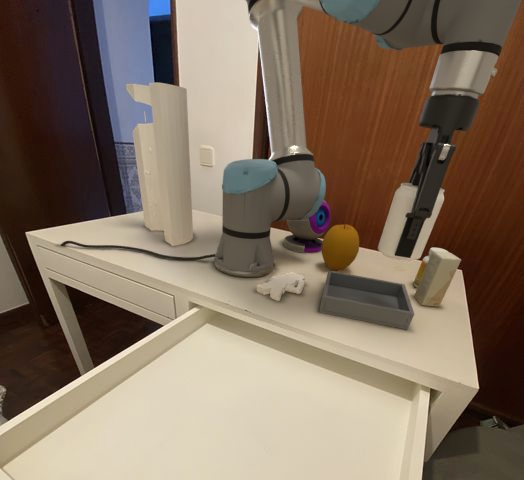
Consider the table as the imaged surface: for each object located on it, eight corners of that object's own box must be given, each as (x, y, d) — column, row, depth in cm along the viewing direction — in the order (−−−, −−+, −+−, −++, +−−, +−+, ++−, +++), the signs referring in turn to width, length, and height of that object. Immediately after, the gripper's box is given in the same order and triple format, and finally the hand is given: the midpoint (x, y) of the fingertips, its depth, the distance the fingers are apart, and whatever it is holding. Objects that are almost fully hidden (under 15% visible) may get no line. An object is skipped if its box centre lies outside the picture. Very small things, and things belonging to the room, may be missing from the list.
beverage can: (413, 266, 55) (442, 193, 47) (370, 254, 58) (392, 184, 51) (423, 256, 60) (451, 189, 53) (384, 245, 64) (405, 181, 56)
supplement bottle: (425, 282, 81) (441, 246, 75) (439, 291, 77) (456, 254, 71) (408, 282, 80) (423, 246, 74) (421, 291, 75) (437, 253, 70)
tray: (319, 312, 62) (322, 296, 60) (324, 284, 74) (328, 270, 71) (407, 329, 60) (414, 313, 57) (399, 298, 71) (404, 284, 69)
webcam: (303, 255, 89) (312, 200, 80) (274, 242, 97) (280, 190, 88) (331, 249, 96) (343, 197, 87) (303, 237, 104) (311, 189, 95)
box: (439, 307, 69) (462, 260, 62) (420, 305, 69) (442, 258, 62) (430, 297, 73) (451, 251, 67) (412, 295, 73) (432, 249, 67)
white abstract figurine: (313, 285, 71) (314, 277, 70) (282, 306, 64) (283, 297, 63) (283, 273, 75) (284, 265, 74) (251, 291, 68) (251, 283, 67)
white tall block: (169, 246, 85) (142, 226, 98) (205, 241, 91) (175, 223, 104) (154, 81, 64) (122, 83, 77) (202, 89, 70) (165, 90, 83)
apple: (325, 259, 88) (335, 216, 81) (357, 268, 85) (370, 224, 78) (311, 268, 81) (320, 222, 74) (345, 278, 78) (358, 231, 71)
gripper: (510, 90, 36) (430, 271, 50) (461, 104, 53) (411, 237, 66) (444, 84, 37) (383, 263, 51) (416, 100, 54) (376, 232, 67)
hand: (399, 248), depth 58 cm, fingers closed on beverage can, 8 cm apart
